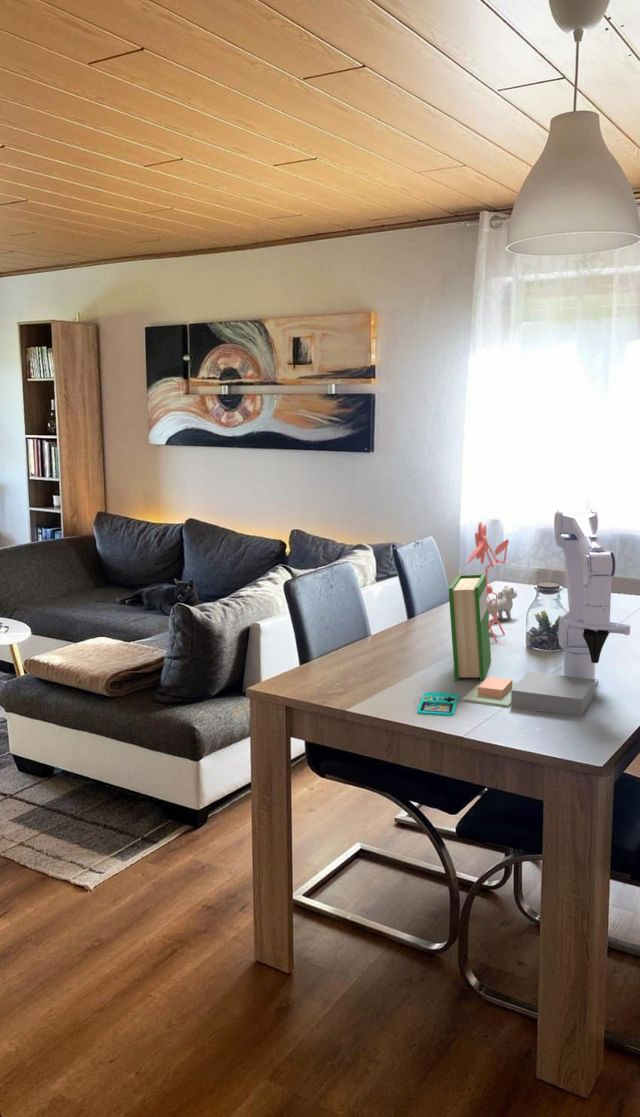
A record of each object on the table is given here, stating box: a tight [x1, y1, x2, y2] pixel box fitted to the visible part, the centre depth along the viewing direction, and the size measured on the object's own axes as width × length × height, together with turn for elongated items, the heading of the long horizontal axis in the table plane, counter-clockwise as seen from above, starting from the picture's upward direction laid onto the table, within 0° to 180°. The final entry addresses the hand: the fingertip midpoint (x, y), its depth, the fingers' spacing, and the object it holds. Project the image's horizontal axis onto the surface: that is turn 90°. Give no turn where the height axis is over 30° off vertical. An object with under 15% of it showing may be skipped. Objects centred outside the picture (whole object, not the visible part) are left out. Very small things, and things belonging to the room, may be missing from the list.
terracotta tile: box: [478, 676, 513, 698], centre depth 217 cm, size 9×6×2 cm, turn 153°
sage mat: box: [462, 678, 518, 708], centre depth 217 cm, size 17×11×1 cm, turn 153°
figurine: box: [467, 521, 513, 643], centre depth 266 cm, size 15×26×35 cm, turn 155°
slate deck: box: [510, 671, 596, 717], centre depth 210 cm, size 16×16×4 cm
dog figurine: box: [487, 585, 518, 624], centre depth 289 cm, size 5×13×11 cm, turn 127°
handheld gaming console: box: [416, 691, 459, 717], centre depth 210 cm, size 8×1×15 cm
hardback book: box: [448, 573, 492, 682], centre depth 232 cm, size 18×7×24 cm, turn 164°
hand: (595, 661), depth 205 cm, fingers closed
